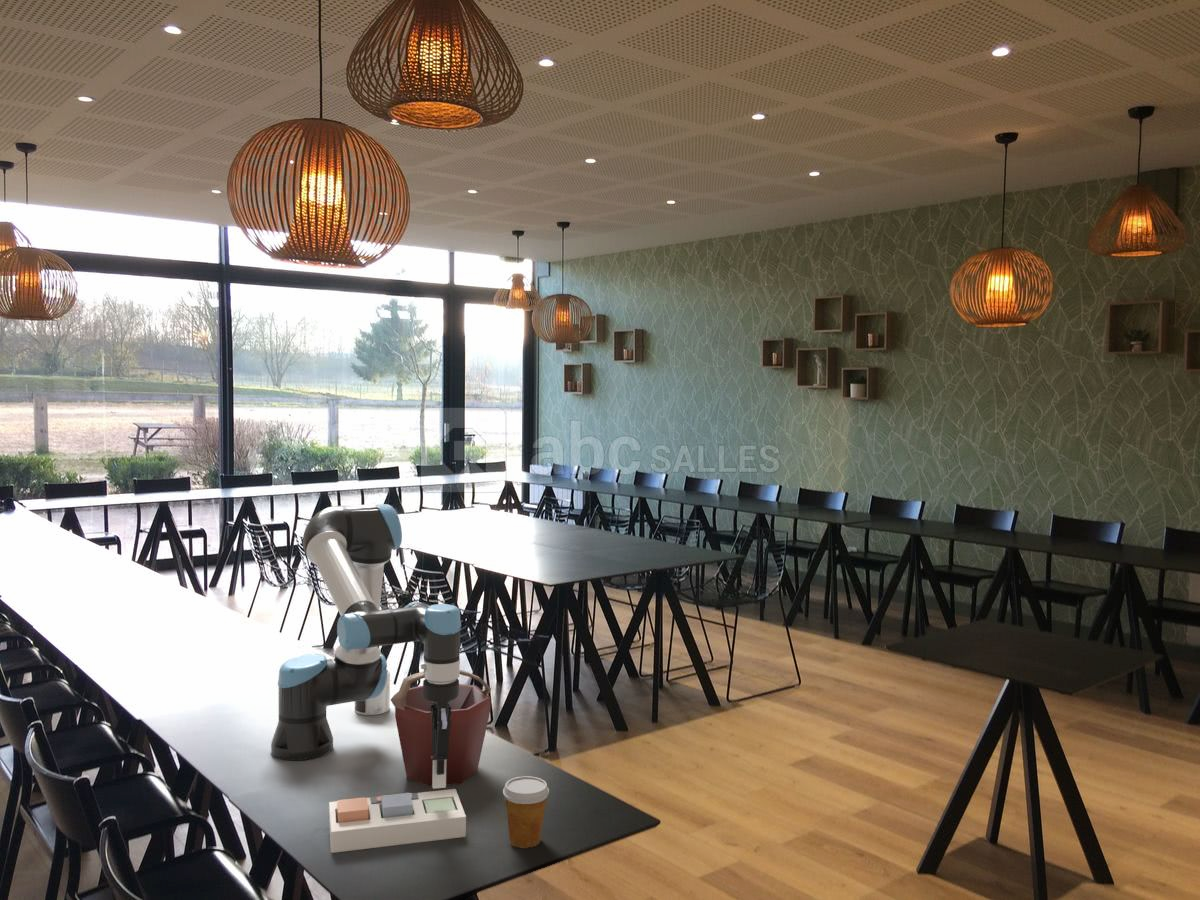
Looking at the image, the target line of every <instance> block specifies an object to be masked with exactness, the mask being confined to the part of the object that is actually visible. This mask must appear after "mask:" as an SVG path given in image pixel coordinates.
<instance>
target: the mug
mask: <svg viewBox="0 0 1200 900" xmlns="http://www.w3.org/2000/svg"><path fill="white" fill-rule="evenodd" d="M386 670H387V681H386V685H385V688H384V690H383V691H382V693H381V694H380V695H379V696H377V697H375V698H370V699H367V700H365V701H354V712H355V713H356V714H359V715H363V716H376V715H377V716H378V715H381V714H384V713H387V712H388V711H389V710H390V706H391V705H390V703H391V702H390V701H391V699H390V698H391V697H390V696H391V695H390V694H391V692H390V691H391V687H390V685H391V671H390V669H389V668H387V669H386Z"/></svg>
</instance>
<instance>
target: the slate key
mask: <svg viewBox="0 0 1200 900" xmlns="http://www.w3.org/2000/svg"><path fill="white" fill-rule="evenodd" d="M410 793H411V792H403V793H394V794H393V793H392V794H384V795H380V796H381V810H382V815H383V818H388V817H397V816H406V815H413V803H412V800H411V796H410Z"/></svg>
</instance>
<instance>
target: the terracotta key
mask: <svg viewBox="0 0 1200 900" xmlns="http://www.w3.org/2000/svg"><path fill="white" fill-rule="evenodd" d="M367 798H368V797H367V796H366V797H365V796H364V797H355V798H347V799H345V798H344V799H337V817H338V823H343V822H352V821H361V820H368V803H367Z"/></svg>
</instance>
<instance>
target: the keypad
mask: <svg viewBox="0 0 1200 900" xmlns="http://www.w3.org/2000/svg"><path fill="white" fill-rule="evenodd" d="M409 793H410V796H411V800H412V803H413V815H406V816H397V817H388V818H383V815H382V810H381V796H382V795H380V796H379V795H378V796H375V797H367V803H368V820H361V821H352V822H343V823H338V817H337V801H329V802H328V804H329V805H328V807H329V809H328V810H329V811H328V819H329V820H328V823H329V824H328V825H329V844H330V846H329V847H330V853H331V854H333V853H340V852H348V851H349V852H351V851H357V850H358V851H359V850H364V849H373V848H374V849H375V848H383V847H389V846H390V847H391V846H399V845H408V844H415V843H416V844H417V843H424V842H432V841H433V842H434V841H441V840H449V839H456V838H457V839H459V838H465V837H467V836H466V835H467V829H466V827H467V815H466V813H465V809H464V808H463V805H462V803H461V799H460V797H459V794H458V792H457V788H452V789H444V790H443V789H441V790H440V789H439V790H434V791H433V790H431V791H423V792H413V793H412V792H409ZM445 798H452V800H453V803H454V806H455V809H456V810H451V811H442V812H433V813H425V810H424V801H427V800H436V799H445Z"/></svg>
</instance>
